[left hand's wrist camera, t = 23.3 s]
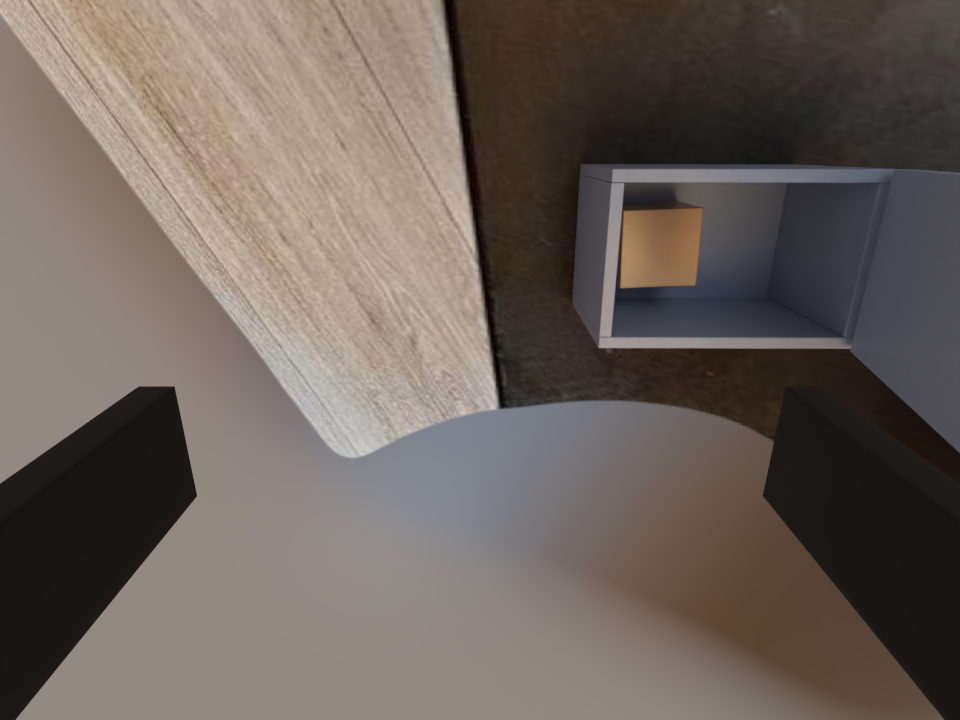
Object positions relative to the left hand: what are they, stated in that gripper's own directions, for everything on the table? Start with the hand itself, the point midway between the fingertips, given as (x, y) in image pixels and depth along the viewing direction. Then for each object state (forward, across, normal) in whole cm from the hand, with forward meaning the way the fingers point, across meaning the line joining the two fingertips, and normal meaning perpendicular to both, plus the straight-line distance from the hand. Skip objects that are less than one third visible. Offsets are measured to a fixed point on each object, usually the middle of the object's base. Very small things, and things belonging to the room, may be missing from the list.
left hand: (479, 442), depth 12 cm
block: (+33, +12, 0) cm, 35 cm away
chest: (+34, +16, 0) cm, 37 cm away
